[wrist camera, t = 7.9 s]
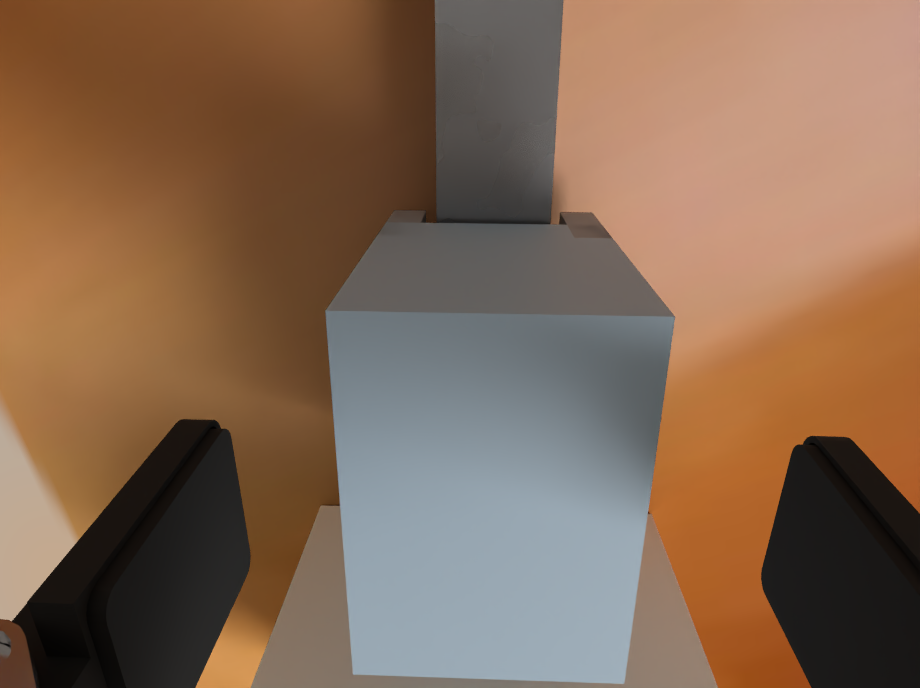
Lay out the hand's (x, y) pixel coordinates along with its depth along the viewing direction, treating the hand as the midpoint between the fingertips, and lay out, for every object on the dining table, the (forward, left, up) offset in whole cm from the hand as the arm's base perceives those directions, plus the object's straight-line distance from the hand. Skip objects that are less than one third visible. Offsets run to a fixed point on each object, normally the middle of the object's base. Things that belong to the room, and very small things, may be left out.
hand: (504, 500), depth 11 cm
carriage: (+1, 0, -9) cm, 10 cm away
